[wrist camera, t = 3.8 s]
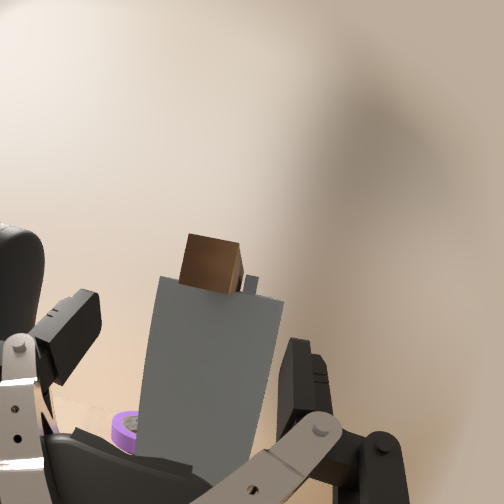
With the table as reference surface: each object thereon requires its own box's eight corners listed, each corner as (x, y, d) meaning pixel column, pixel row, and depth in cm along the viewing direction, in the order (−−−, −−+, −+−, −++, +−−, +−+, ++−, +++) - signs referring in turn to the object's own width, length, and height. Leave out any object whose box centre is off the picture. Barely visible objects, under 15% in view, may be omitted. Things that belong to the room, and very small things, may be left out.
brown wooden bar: (177, 283, 14) (188, 232, 15) (220, 287, 38) (224, 267, 39) (228, 294, 14) (239, 242, 15) (240, 291, 38) (244, 271, 39)
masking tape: (175, 461, 44) (177, 444, 45) (109, 451, 41) (109, 434, 41) (168, 431, 55) (170, 416, 56) (113, 422, 52) (114, 406, 52)
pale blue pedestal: (121, 548, 20) (148, 253, 24) (153, 483, 36) (186, 268, 39) (227, 573, 20) (302, 284, 24) (232, 501, 35) (280, 286, 39)
